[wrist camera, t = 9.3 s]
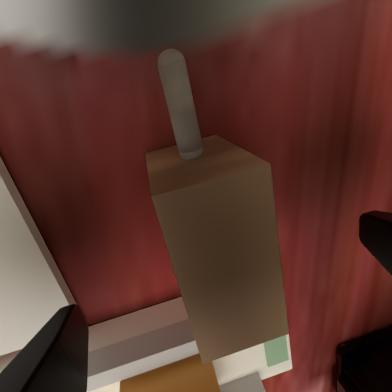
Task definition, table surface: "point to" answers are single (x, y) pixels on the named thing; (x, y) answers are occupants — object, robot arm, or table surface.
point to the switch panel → (169, 351)
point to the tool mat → (24, 272)
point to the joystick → (217, 227)
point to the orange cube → (175, 378)
